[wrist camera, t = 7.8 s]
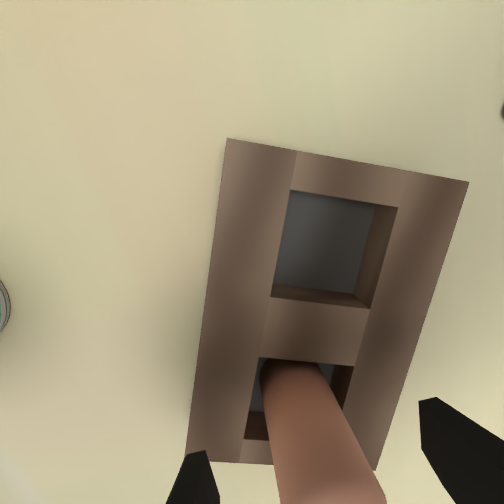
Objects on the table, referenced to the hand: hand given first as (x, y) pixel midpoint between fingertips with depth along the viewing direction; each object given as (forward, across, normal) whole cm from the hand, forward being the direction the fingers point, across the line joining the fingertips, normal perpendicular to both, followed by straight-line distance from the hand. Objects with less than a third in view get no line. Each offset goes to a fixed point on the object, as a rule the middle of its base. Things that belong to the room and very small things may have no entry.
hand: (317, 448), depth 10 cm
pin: (+8, 0, +4) cm, 9 cm away
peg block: (+9, -2, 0) cm, 9 cm away
